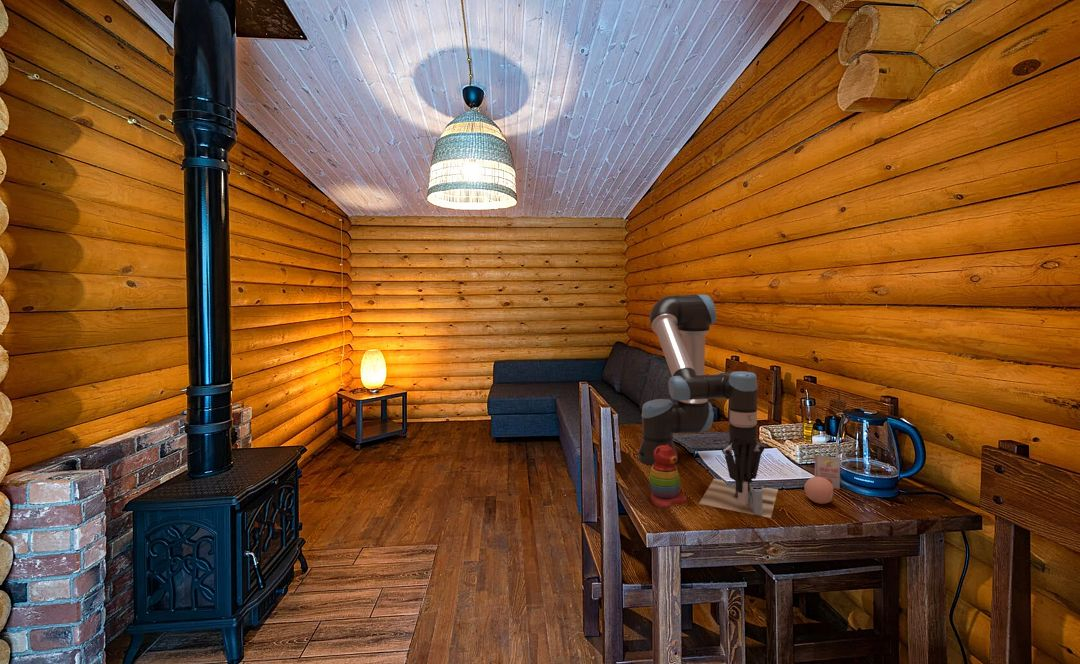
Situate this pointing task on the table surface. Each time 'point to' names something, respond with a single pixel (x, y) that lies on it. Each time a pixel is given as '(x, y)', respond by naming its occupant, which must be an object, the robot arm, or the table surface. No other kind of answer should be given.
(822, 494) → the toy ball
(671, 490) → the stacking bear
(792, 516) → the table surface
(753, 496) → the gray castle wall
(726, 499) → the board
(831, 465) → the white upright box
